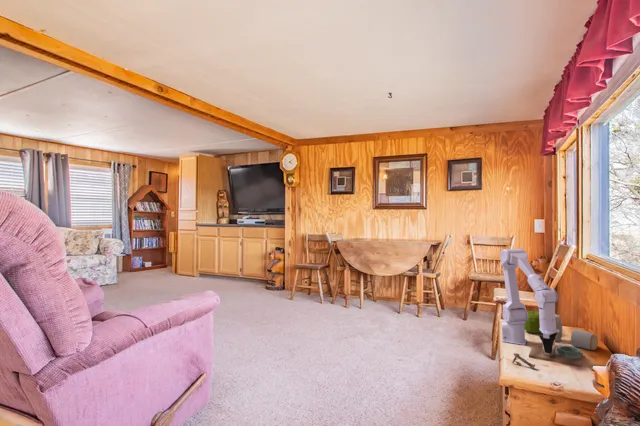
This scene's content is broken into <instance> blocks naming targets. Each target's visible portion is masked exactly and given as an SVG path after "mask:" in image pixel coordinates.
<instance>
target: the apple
mask: <svg viewBox="0 0 640 426" xmlns="http://www.w3.org/2000/svg"><path fill="white" fill-rule="evenodd" d="M527 312H528V320H527V321H526V323H524V328H525V332H527V333H531V334H537V335H540V334H541V335H542V333H541V331H540V330H539V328H540V320H539V311H534V310H527Z"/></svg>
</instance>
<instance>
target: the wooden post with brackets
mask: <svg viewBox="0 0 640 426" xmlns="http://www.w3.org/2000/svg"><path fill="white" fill-rule="evenodd" d="M513 355H514V358H513V359H512V361H511V363H512V364H514V363H516V365H518V366H520V367H522V366H523V364H522V363H524V364H525V365H528V367H529V368H530V369H531V370H533V369H534V368H535V366H536V364H532V363H531V362H528V361H527V360H526V359H525V358H523V357H522V356H520V355H519V353H515V352H514V353H513ZM516 360H520V361H516ZM521 362H522V363H521Z"/></svg>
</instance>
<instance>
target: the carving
mask: <svg viewBox="0 0 640 426" xmlns="http://www.w3.org/2000/svg"><path fill="white" fill-rule="evenodd" d="M555 320H556V329H558V330H559V331H560V332H557V335H556V336H555V337H556V338H555V343H557V342H561V341H562V335H563V324H562V322H563V321H562V316H561V315H559V314H556V313H555Z"/></svg>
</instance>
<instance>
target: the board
mask: <svg viewBox="0 0 640 426" xmlns="http://www.w3.org/2000/svg"><path fill="white" fill-rule="evenodd" d="M555 356H556V357H554V358H550V357H545V356H544V355H543V345H542V346H541V345H532V347H531V349H530V352H529V354H528V358H531V359H536V360H542V361H547V362H552V363H559V364H563V365H569V366H570V365H571V366H576V367H582V366H583V357H584V354H583V352H581V349H579V347H576V346H573V345H571V346H569V345H557V346H556V348H555Z"/></svg>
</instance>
